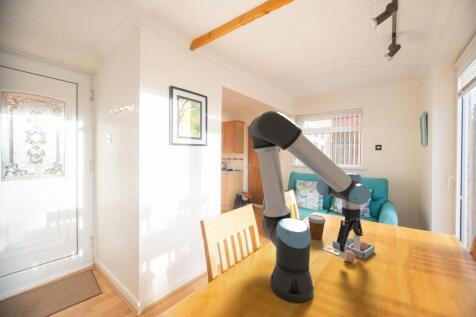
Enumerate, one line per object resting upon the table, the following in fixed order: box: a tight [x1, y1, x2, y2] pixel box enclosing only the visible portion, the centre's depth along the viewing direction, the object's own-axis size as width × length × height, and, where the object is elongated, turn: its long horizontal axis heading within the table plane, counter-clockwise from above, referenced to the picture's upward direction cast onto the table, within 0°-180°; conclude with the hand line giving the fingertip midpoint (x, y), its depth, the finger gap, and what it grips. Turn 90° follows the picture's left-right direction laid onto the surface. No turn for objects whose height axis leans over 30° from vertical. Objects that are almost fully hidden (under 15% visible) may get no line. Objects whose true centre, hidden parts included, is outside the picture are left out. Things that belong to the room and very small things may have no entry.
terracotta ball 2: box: [359, 240, 369, 252], centre depth 102 cm, size 5×5×5 cm
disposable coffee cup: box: [307, 214, 326, 241], centre depth 116 cm, size 10×10×12 cm
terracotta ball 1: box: [345, 250, 356, 263], centre depth 91 cm, size 5×5×5 cm
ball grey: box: [346, 238, 352, 246], centre depth 106 cm, size 5×5×5 cm
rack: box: [332, 236, 375, 260], centre depth 103 cm, size 13×15×3 cm
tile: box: [321, 245, 339, 256], centre depth 101 cm, size 6×8×1 cm
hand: (349, 253), depth 91 cm, fingers open, 13 cm apart
